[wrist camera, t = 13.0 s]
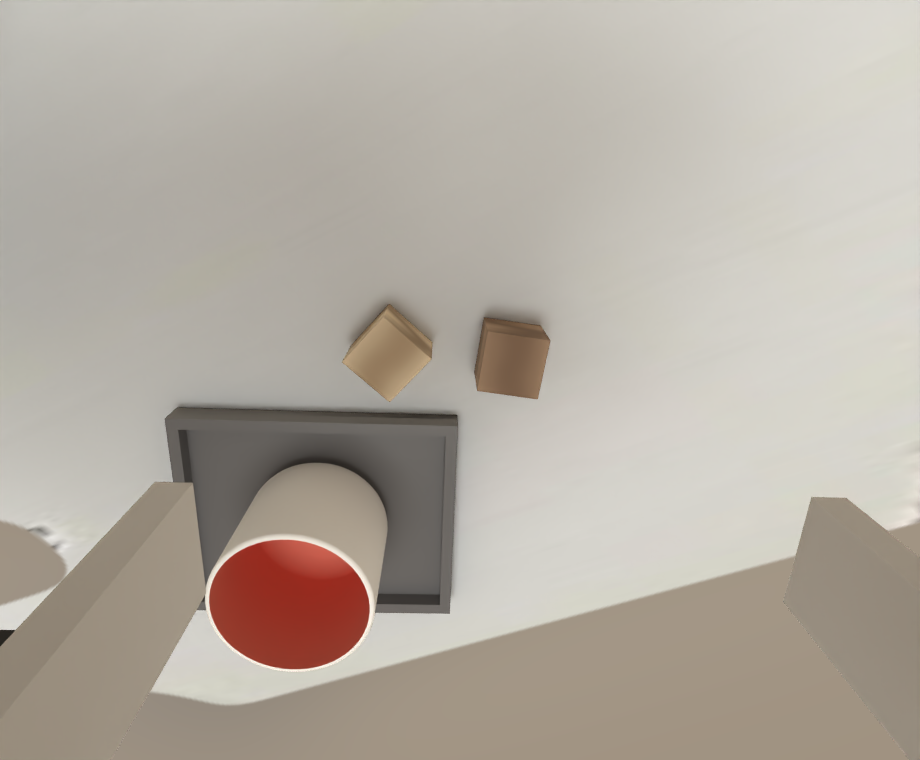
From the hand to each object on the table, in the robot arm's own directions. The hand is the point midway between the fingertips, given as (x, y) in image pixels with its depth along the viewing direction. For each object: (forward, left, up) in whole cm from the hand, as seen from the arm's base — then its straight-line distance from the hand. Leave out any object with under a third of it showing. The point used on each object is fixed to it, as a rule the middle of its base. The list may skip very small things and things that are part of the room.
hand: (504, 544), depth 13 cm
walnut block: (+5, +1, -29) cm, 29 cm away
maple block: (+1, -6, -29) cm, 29 cm away
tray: (+10, -17, -29) cm, 35 cm away
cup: (+10, -17, -28) cm, 34 cm away
